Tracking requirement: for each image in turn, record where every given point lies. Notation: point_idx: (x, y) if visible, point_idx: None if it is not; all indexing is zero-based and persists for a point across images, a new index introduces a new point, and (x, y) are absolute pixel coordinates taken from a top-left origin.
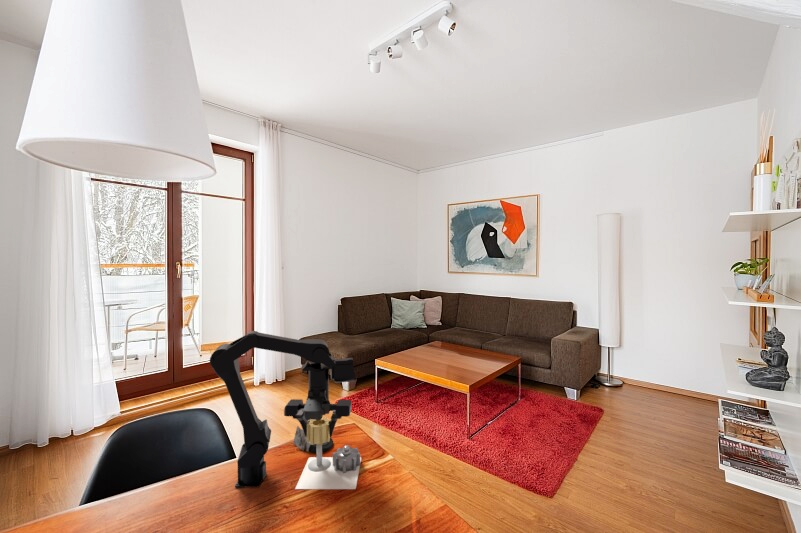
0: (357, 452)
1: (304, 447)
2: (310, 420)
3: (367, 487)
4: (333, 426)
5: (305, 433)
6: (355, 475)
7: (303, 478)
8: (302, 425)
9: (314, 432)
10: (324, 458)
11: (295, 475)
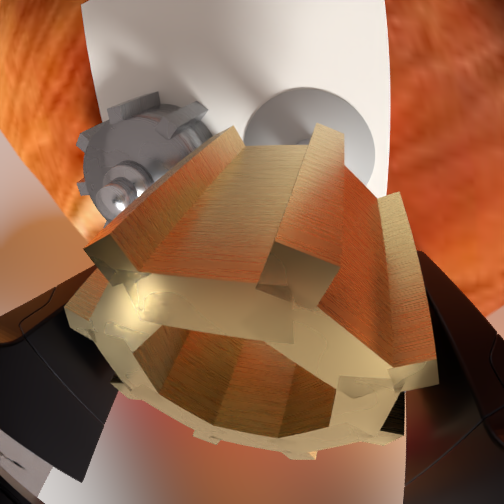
0: (90, 194)
1: None
2: (373, 437)
3: (72, 56)
4: (52, 292)
5: (432, 273)
6: (104, 86)
7: (364, 25)
8: (500, 355)
9: (275, 210)
10: None
11: (427, 104)
